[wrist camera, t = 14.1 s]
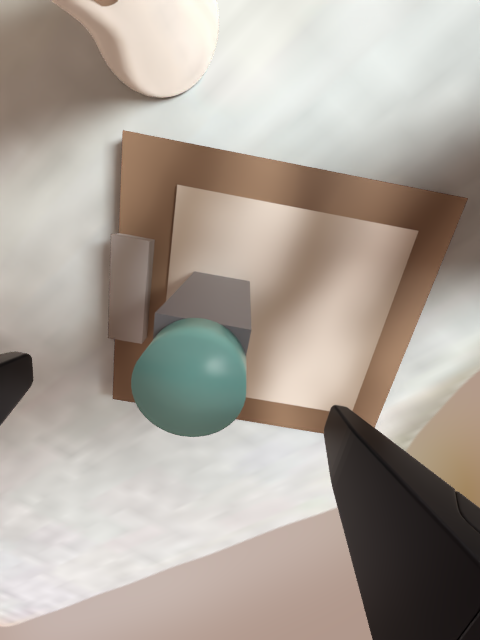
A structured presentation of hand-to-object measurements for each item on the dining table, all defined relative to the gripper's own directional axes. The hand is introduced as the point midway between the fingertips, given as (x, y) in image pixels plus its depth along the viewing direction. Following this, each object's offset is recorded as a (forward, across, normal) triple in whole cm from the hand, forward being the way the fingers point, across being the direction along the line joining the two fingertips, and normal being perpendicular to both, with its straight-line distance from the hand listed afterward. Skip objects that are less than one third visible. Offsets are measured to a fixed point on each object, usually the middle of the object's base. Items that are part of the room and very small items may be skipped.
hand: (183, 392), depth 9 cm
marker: (+9, 0, 0) cm, 9 cm away
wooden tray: (+10, -3, 0) cm, 11 cm away
